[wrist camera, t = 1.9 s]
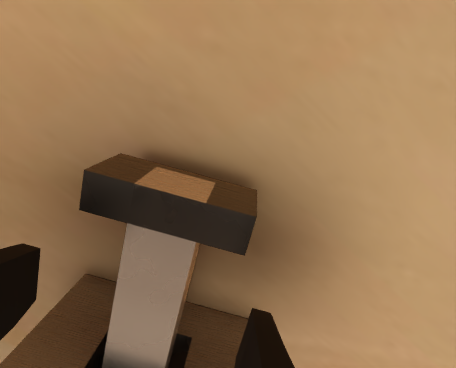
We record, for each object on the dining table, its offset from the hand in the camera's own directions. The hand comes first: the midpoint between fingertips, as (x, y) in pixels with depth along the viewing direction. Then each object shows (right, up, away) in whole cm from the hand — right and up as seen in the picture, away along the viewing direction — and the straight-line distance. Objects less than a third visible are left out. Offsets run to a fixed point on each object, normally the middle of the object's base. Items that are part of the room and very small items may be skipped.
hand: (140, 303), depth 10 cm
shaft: (-2, -6, +6) cm, 9 cm away
